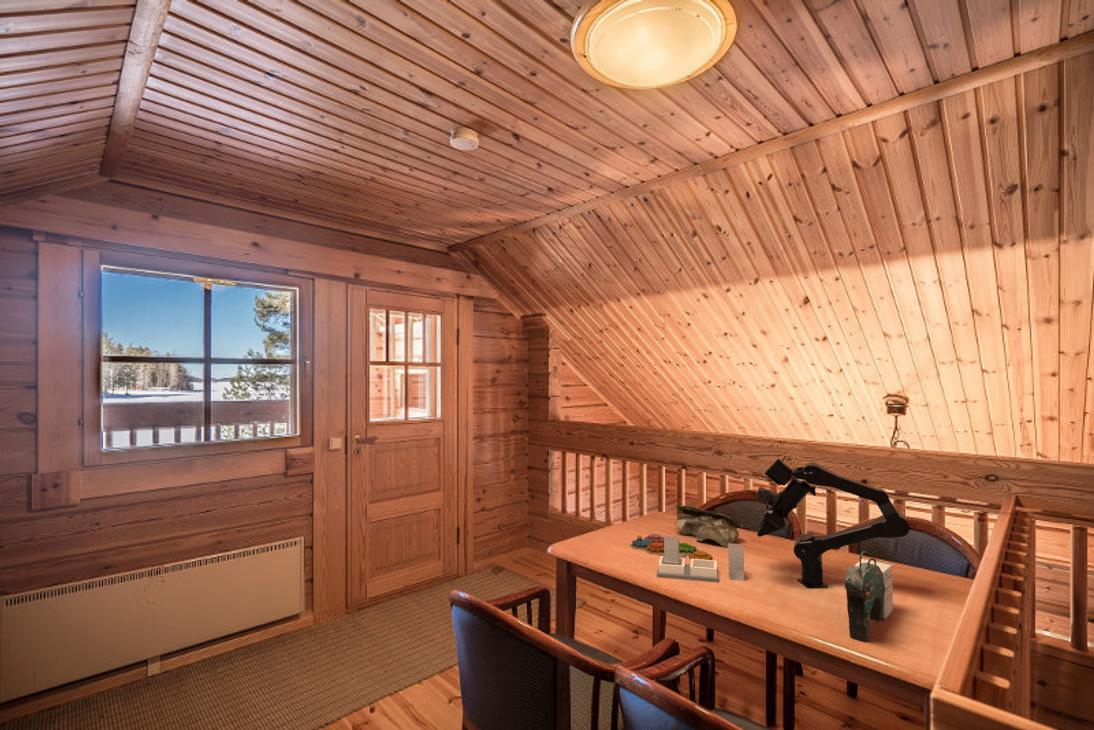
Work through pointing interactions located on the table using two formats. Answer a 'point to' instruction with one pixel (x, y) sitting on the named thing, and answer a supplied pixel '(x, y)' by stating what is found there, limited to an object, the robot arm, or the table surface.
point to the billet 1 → (671, 550)
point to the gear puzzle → (656, 546)
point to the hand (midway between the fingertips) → (759, 531)
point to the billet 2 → (736, 561)
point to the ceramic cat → (864, 597)
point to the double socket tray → (690, 570)
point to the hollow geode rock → (707, 525)
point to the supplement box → (887, 578)
